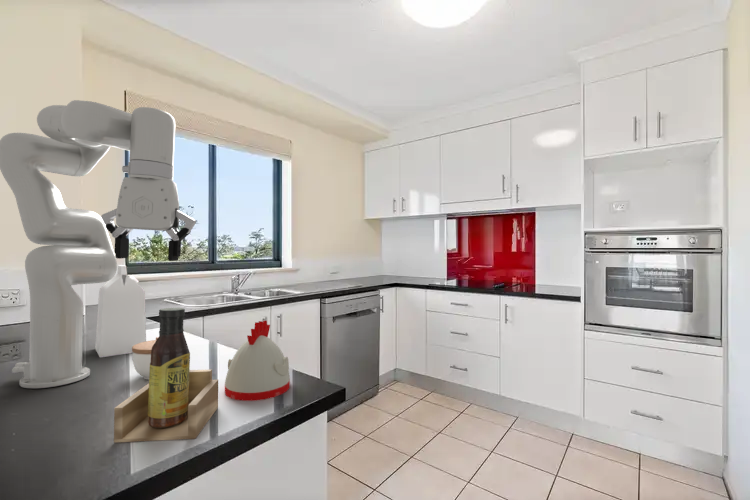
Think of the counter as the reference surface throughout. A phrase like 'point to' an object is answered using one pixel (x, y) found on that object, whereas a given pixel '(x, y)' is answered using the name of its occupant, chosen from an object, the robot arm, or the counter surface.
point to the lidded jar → (143, 357)
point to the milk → (120, 315)
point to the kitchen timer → (257, 368)
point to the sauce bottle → (169, 372)
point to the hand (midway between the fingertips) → (147, 259)
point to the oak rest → (136, 427)
